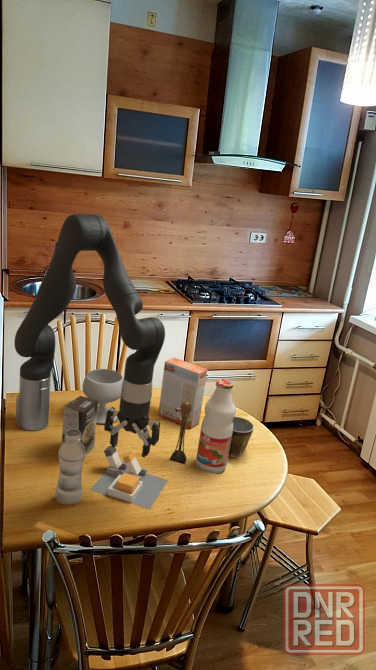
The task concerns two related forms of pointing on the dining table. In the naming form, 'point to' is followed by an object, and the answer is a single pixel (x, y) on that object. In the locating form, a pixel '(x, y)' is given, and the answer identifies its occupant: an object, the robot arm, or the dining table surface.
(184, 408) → the wooden tabletop sculpture
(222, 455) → the fruit juice
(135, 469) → the block
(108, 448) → the breaker
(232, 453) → the ceramic cup
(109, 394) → the chalice
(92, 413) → the coffee box
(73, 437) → the plastic bottle
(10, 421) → the dining table surface
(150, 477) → the panel
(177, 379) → the cracker box
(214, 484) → the dining table surface
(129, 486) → the orange cube
